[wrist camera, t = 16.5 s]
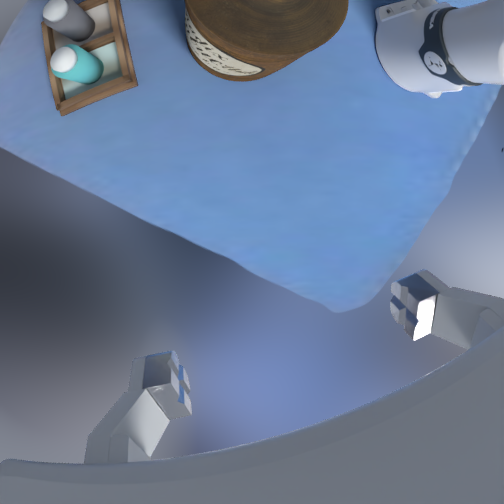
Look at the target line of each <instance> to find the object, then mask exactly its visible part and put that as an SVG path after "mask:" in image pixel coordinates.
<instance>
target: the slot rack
mask: <svg viewBox="0 0 504 504" xmlns="http://www.w3.org/2000/svg"><path fill="white" fill-rule="evenodd" d="M77 5H78V6H79V7H80V8H82V9H83V10H84V11H85V12H86V13H87V14H88V15H89V16H90V17H91V18H92V19H93V20H94V21H95V30H94V32H93V34H92V35H91V36H90V37H89V38H88V39H87V40H85V41H82V42H74V41H73V40H71V39H69V38H68V37H66V36H64V35H63V34H61V33H59V32H57V31H56V30H54V29H52V28H51V27H49V26H47V25H46V24H45V23H44V21H43V22H41V24H42V33H43V40H44V47H45V54H46V60H47V66H48V72H49V77H50V82H51V87H52V92H53V96H54V101H55V105H56V109H57V110H60V114H61V116H65V115H67V114H69V113H71V112H73V111H76V110H78V109H80V108H82V107H85V106H87V105H89V104H92V103H94V102H96V101H99V100H101V99H104V98H106V97H109V96H111V95H114V94H117V93H119V92H122V91H125V90H128V89H130V88H133V87H136V86H138V83H137V78H136V74H135V70H134V66H133V61H132V57H131V53H130V48H129V43H128V39H127V34H126V29H125V24H124V19H123V14H122V9H121V4H120V0H86V1H84V2H81V3H79V4H77ZM68 44H74V45H77V46H79V47H80V48H82V49H84V50H85V51H87V52H89V53H90V54H92V55H94V56H95V57H97V58H99V59H100V60H101V61H102V62H103V65H104V71H103V74H102V76H101V78H100V79H99V80H98V81H97V82H95V83H93V84H90V85H86V84H82V83H78V82H74V81H71V80H67V79H63V78H59V77H57V76H55V75H54V74H53V72H52V70H51V65H50V60H51V57H52V55H53V53H54V52H55V51H56V50H57V49H59V48H61V47H63V46H65V45H68Z"/></svg>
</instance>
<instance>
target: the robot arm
mask: <svg viewBox="0 0 504 504" xmlns="http://www.w3.org/2000/svg"><path fill="white" fill-rule="evenodd" d="M387 11H388V13H387ZM375 14H376V19H377V24H378V27H377V32H376V49H377V53H378V57H379V59H380V62H381V64H382V66H383V68H384V69H385V71H386V73H387V74H388V75H389V76H390V78H391V79H392V80H393V81H394V82H395V83H396V84H398V85H399V86H400V87H402V88H404V89H406V90H408V91H412V92H422V93H424V94H426V95H428V96H429V97H431V98H438V97H439V96H440V95H441V93H442V92H452V91H460V90H462V87H463V86H478V85H481V84H483V83H487V84H501V85H504V0H487V1H485V2H481V3H478V4H474V5H471V6H467V7H462V8H456V7H452V6H451V5H450V4H448V3H446V2H442V3H437V2H436V1H435V0H404V1H400V2H396V3H392V4H389V5H385V6H381V7H378V8H376V10H375ZM391 292H392V293H393V294H394V296H393V298H392V299H391V301H390V302H391V303H390V306H391V307H390V309H391V312H392V315H393V317H394V319H395V320H396V321H397V322H398V323H399V324H402V325H404V330H405V332H406V333H407V334H408V335H409V336H410V337H411V338H412V340H416V339H418V338H420V337H422V336H424V335H427V334H429V333H431V334H433V335H436V336H438V337H440V338H443V339H445V340H447V341H450V342H452V343H454V344H457V345H459V346H461V347H464V348H466V349H468V350H467V351H466V352H464V353H463V354H461V355H460V356H458V357H456V358H455V359H453V360H451V361H450V362H448V363H446V364H445V365H443V366H441V367H439V368H438V369H436V370H434V371H432V372H430V373H429V374H427V375H425V376H423V377H421V378H419V379H417V380H416V381H414V382H412V383H410V384H408V385H406V386H404V387H402V388H400V389H398V390H396V391H394V392H392V393H389V394H387V395H386V396H383V397H381V398H379V399H376V400H374V401H372V402H370V403H367V404H365V405H363V406H361V407H358V408H356V409H353V410H351V411H348V412H345V413H343V414H340V415H338V416H335V417H332V418H330V419H327V420H325V421H321V422H319V423H316V424H313V425H310V426H307V427H304V428H301V429H298V430H295V431H291V432H288V433H285V434H281V435H278V436H274V437H271V438H267V439H264V440H260V441H256V442H252V443H248V444H244V445H239V446H235V447H231V448H226V449H221V450H216V451H211V452H206V453H200V454H194V455H188V456H181V457H174V458H167V459H158V460H152V459H151V458H150V457H151V455H152V453H153V451H154V449H155V447H156V446H157V444H158V442H159V440H160V438H161V436H162V434H163V432H164V431H165V429H166V427H167V425H168V423H169V420H171V419H176V418H180V417H185V416H189V415H192V413H191V400H190V398H189V397H188V393H189V392H190V384H189V380H188V376H187V373H186V371H185V369H184V367H183V366H181V365H179V358H178V356H177V354H176V353H175V351H167V352H162V353H157V354H153V355H148V356H144V357H138V358H134V360H133V361H132V367H131V375H130V381H129V388H128V392H124V394H123V395H122V396H121V397H120V398H119V400H118V401H117V402H116V403H115V404H114V406H113V407H112V408H111V409H110V410H109V412H108V413H107V414H106V415H105V416H104V418H103V419H102V420H101V421H100V423H99V424H98V425H97V426H96V427H95V428H94V430H93V431H92V432H91V433H90V434H89V436H88V440H87V447H86V453H85V459H84V464H73V463H48V462H35V461H26V460H17V459H6V460H3V461H2V462H1V463H0V504H504V299H502V298H500V297H495V296H491V295H486V294H482V293H478V292H473V291H469V290H464V289H460V288H456V287H452V288H449V287H448V286H447V285H446V284H445V283H443V282H442V281H441V280H439V279H438V278H437V277H436V276H434V275H433V274H432V273H431V272H429V271H428V270H426V269H422V270H420V271H418V272H416V273H414V274H412V275H409V276H407V277H404V278H402V279H399V280H397V281H394V282H393V283H392V285H391Z"/></svg>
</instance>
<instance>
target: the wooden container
mask: <svg viewBox="0 0 504 504" xmlns="http://www.w3.org/2000/svg"><path fill="white" fill-rule="evenodd" d="M347 11H348V0H185V30H186V37H187V43H188V47H189V50H190V52H191V54H192V56H193V57H194V59H195V60H196V61H197V63H198V64H199V65H200V66H201V67H203V68H204V69H205V70H206V71H208V72H209V73H211V74H213V75H215V76H217V77H220V78H223V79H226V80H231V81H252V80H257V79H260V78H263V77H266V76H268V75H270V74H272V73H274V72H276V71H278V70H280V69H282V68H284V67H285V66H287V65H289V64H290V63H292V62H294V61H295V60H297V59H298V58H300V57H302V56H303V55H305V54H307V53H308V52H310V51H312V50H314V49H316V48H318V47H319V46H321V45H323V44H324V43H326V42H327V41H328V40H330V39H331V38H332V37H333V36H334V35H335V34H336V33H337V32H338V30H339V29H340V27H341V26H342V24H343V22H344V20H345V18H346V15H347Z"/></svg>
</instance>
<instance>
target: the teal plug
mask: <svg viewBox="0 0 504 504" xmlns="http://www.w3.org/2000/svg"><path fill="white" fill-rule="evenodd" d="M50 65H51V70H52V72H53V74H54V75H55V76H57V77H59V78H63V79H67V80H71V81H74V82H78V83H82V84H86V85H90V84H93V83H95V82H97V81H98V80H99V79H100V78H101V76H102V74H103V71H104V65H103V62H102V61H101V60H100V59H99V58H97V57H95V56H94V55H92V54H90V53H89V52H87V51H85V50H84V49H82V48H80V47H79V46H77V45H74V44H68V45H65V46H63V47H61V48H59V49H57V50H56V51H55V52H54V53H53V55H52V57H51V60H50Z"/></svg>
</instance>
